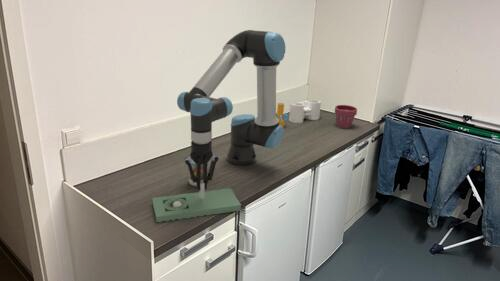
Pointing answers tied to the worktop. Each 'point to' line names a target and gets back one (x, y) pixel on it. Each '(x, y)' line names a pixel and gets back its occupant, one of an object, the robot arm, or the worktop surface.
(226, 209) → the plate
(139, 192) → the worktop surface
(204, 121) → the robot arm
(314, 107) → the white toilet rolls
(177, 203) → the ball
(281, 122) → the orange blue toy
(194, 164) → the milk bottle
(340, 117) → the plant pot
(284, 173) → the worktop surface
